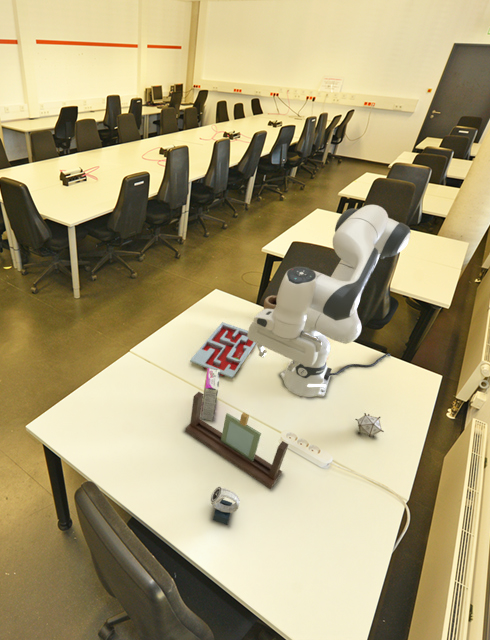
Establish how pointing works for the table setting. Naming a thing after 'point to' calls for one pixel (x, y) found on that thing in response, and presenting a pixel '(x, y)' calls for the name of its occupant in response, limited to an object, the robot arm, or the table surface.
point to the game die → (369, 425)
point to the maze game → (224, 350)
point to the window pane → (240, 436)
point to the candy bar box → (210, 394)
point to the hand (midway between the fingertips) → (276, 362)
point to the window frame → (212, 439)
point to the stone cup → (270, 302)
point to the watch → (223, 504)
